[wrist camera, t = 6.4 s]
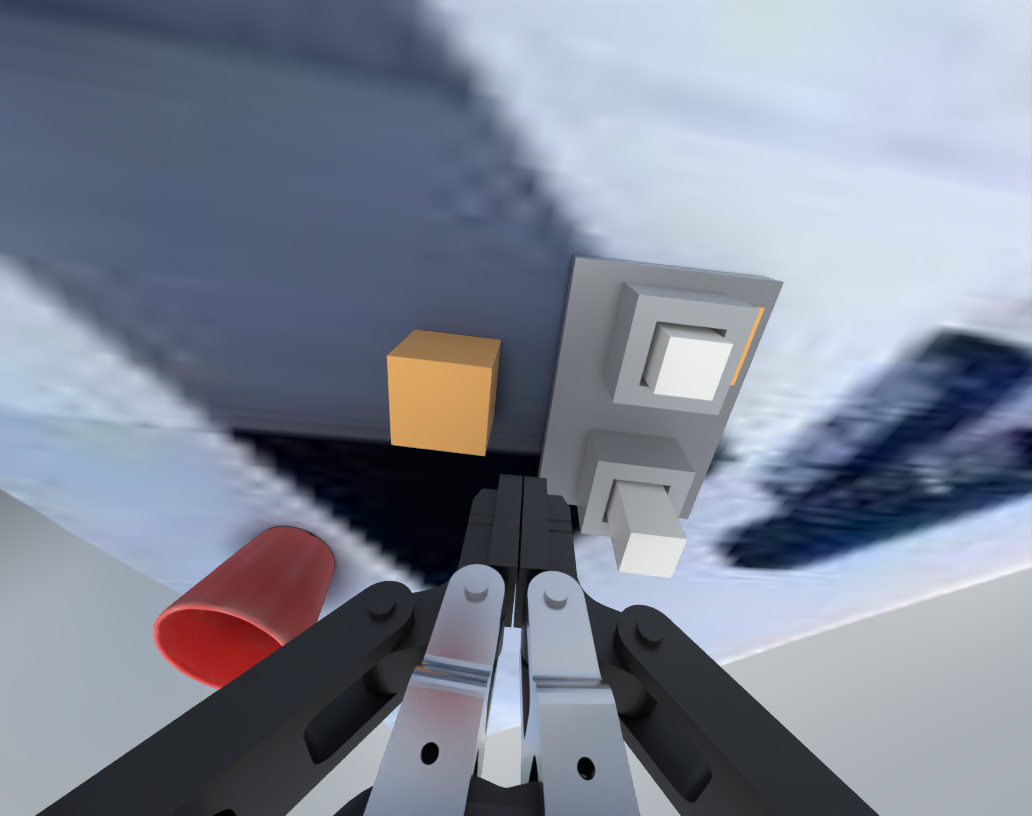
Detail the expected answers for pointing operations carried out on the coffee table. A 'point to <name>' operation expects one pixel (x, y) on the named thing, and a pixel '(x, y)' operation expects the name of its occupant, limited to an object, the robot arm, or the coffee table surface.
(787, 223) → the coffee table surface
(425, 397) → the orange wooden cube
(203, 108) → the coffee table surface
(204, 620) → the flower pot
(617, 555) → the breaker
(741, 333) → the breaker panel
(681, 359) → the block
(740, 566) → the coffee table surface
